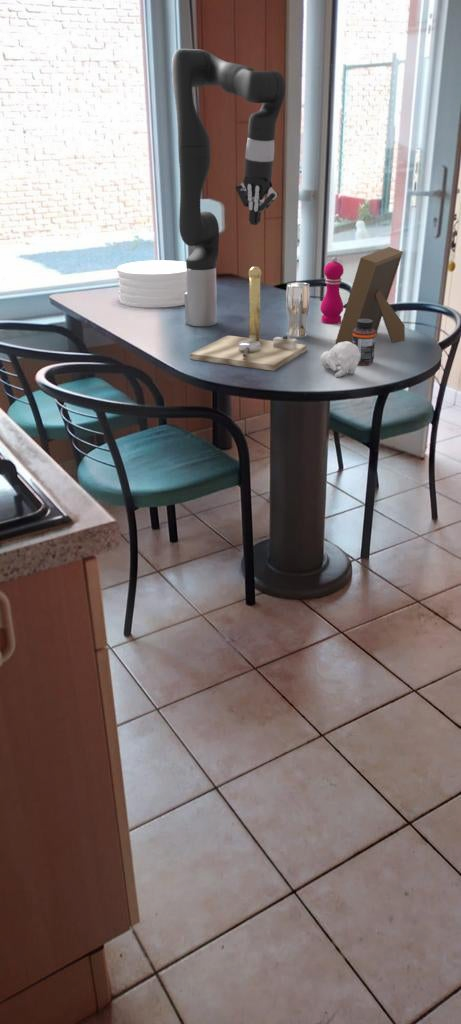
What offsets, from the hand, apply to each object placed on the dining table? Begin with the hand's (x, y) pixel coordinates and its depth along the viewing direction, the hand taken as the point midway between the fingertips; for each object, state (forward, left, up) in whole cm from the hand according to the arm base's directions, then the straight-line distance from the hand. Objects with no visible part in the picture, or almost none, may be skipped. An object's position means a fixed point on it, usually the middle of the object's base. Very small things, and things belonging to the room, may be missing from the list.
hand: (254, 224), depth 216 cm
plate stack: (-56, +36, -32) cm, 74 cm away
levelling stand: (+7, -16, -32) cm, 37 cm away
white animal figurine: (+34, -21, -32) cm, 52 cm away
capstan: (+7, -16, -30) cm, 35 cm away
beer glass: (+10, +9, -32) cm, 35 cm away
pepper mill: (+13, +30, -32) cm, 46 cm away
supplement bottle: (+37, -10, -32) cm, 50 cm away
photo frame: (+33, +12, -32) cm, 48 cm away
